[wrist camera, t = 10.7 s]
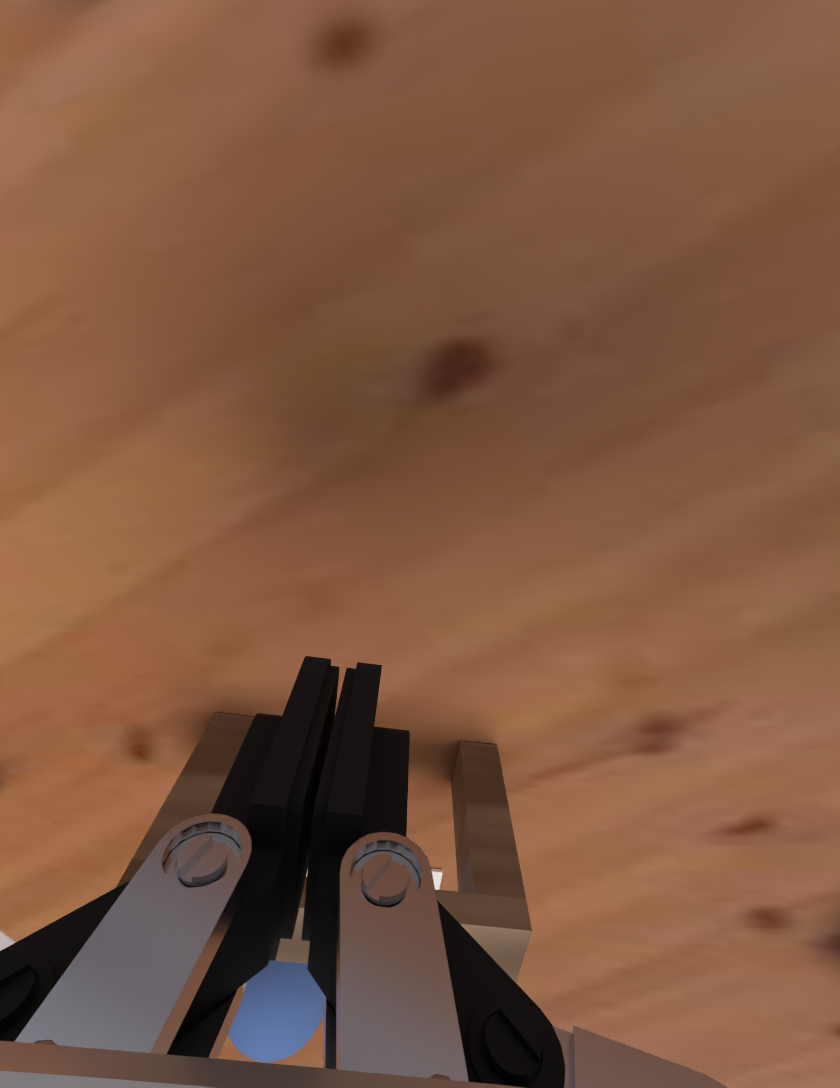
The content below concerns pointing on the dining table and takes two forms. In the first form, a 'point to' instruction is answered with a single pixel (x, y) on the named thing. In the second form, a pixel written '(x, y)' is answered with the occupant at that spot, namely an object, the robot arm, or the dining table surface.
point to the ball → (277, 1012)
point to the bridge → (479, 823)
